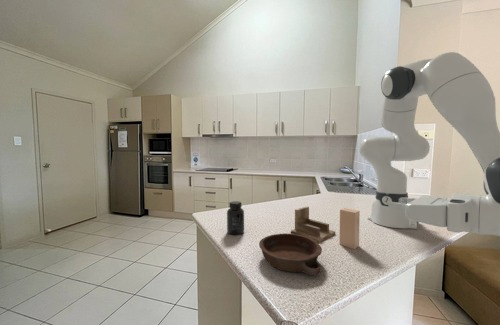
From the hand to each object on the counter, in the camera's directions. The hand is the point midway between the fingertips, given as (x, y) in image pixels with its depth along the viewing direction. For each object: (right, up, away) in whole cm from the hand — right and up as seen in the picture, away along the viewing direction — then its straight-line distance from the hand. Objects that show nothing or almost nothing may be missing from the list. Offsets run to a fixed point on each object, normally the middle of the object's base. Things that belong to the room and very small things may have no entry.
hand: (394, 202), depth 61 cm
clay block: (-8, -17, +10) cm, 21 cm away
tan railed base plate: (-17, -16, +21) cm, 32 cm away
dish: (-30, -17, +1) cm, 35 cm away
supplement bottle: (-48, -16, +23) cm, 55 cm away
